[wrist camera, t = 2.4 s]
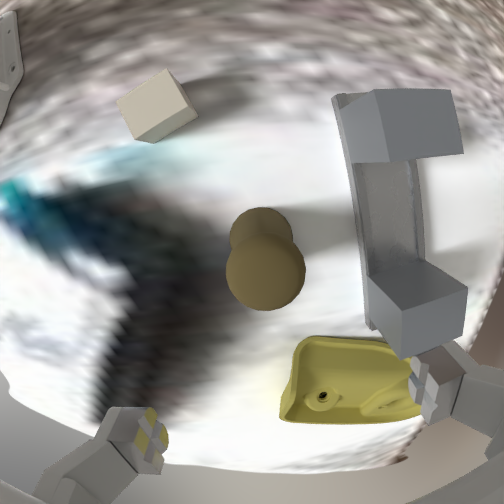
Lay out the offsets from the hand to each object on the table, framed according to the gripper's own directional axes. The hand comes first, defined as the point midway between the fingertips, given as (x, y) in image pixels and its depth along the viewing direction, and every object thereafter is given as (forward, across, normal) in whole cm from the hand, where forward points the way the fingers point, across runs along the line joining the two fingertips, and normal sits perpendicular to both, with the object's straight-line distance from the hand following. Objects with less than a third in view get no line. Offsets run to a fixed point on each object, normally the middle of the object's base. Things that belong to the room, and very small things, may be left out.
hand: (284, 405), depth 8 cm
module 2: (+20, -13, +8) cm, 25 cm away
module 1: (+20, -13, -8) cm, 25 cm away
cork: (+21, 0, 0) cm, 21 cm away
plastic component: (+22, -8, +21) cm, 31 cm away
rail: (+21, -13, 0) cm, 25 cm away
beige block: (+21, +6, -14) cm, 26 cm away
